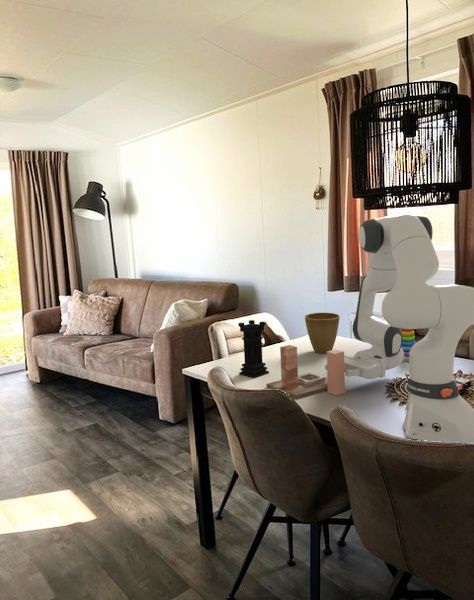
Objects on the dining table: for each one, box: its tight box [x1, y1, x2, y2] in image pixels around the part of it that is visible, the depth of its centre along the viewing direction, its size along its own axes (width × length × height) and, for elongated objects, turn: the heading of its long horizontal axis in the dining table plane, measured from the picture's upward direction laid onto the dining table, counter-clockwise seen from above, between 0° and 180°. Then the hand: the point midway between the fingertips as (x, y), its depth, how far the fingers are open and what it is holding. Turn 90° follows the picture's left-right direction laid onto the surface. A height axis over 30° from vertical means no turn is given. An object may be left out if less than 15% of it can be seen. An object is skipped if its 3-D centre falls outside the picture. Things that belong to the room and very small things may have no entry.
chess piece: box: [237, 319, 270, 379], centre depth 198 cm, size 8×8×20 cm
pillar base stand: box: [266, 344, 328, 400], centre depth 181 cm, size 16×20×15 cm
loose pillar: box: [326, 349, 346, 396], centre depth 173 cm, size 4×4×14 cm
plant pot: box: [304, 312, 341, 355], centre depth 225 cm, size 15×15×16 cm
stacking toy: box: [400, 328, 417, 362], centre depth 207 cm, size 8×8×19 cm
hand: (336, 370), depth 173 cm, fingers open, 8 cm apart
